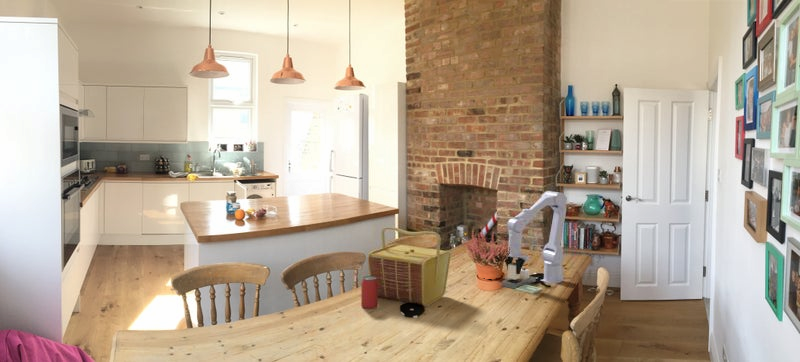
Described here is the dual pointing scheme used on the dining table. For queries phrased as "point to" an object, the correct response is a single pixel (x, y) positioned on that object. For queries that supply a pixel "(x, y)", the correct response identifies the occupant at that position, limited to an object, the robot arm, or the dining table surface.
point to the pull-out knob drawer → (524, 273)
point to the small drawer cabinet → (517, 282)
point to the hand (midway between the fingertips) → (513, 272)
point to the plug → (512, 271)
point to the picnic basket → (410, 270)
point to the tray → (528, 289)
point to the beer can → (369, 292)
